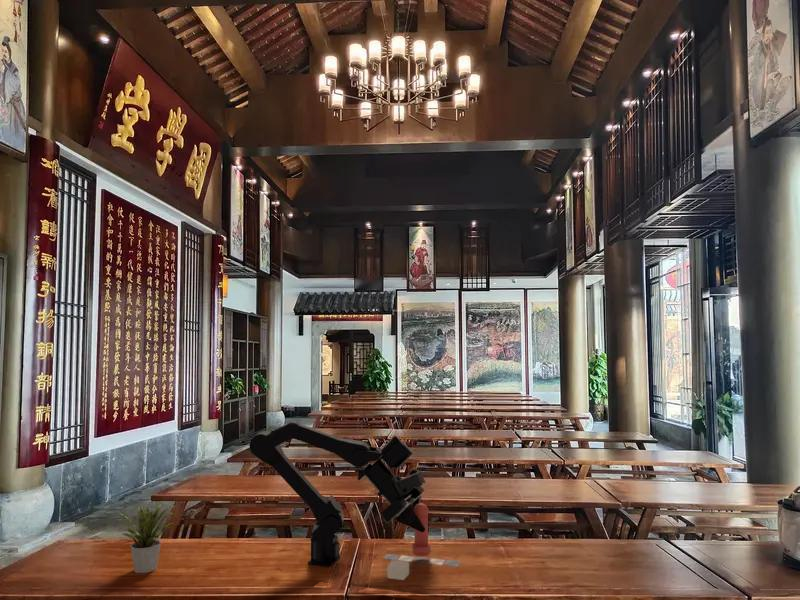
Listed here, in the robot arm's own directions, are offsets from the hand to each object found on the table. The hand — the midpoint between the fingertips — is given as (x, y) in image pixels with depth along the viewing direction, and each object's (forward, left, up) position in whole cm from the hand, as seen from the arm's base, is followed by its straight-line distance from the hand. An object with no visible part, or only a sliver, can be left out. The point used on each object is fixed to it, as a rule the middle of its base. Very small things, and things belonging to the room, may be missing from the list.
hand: (426, 528), depth 157 cm
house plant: (-65, -23, -9) cm, 69 cm away
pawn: (-1, 0, -6) cm, 6 cm away
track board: (-1, 0, -9) cm, 9 cm away
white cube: (-3, -12, -9) cm, 15 cm away
